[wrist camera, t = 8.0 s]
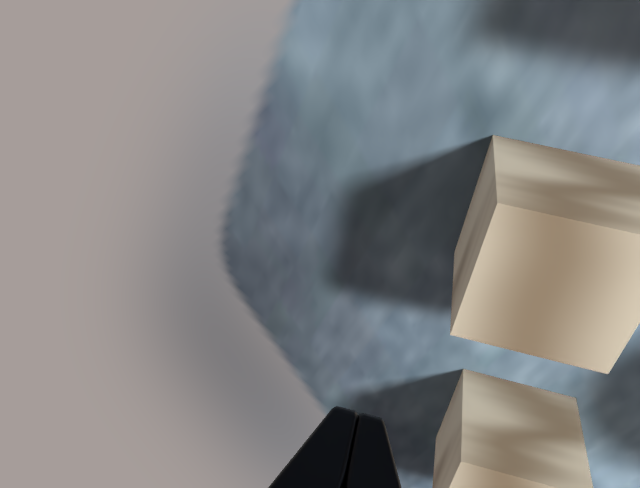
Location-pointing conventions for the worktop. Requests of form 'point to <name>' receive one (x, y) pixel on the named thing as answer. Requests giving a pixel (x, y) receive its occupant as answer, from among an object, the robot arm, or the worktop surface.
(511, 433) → the one stroke block
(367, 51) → the worktop surface
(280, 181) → the worktop surface
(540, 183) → the plain block
